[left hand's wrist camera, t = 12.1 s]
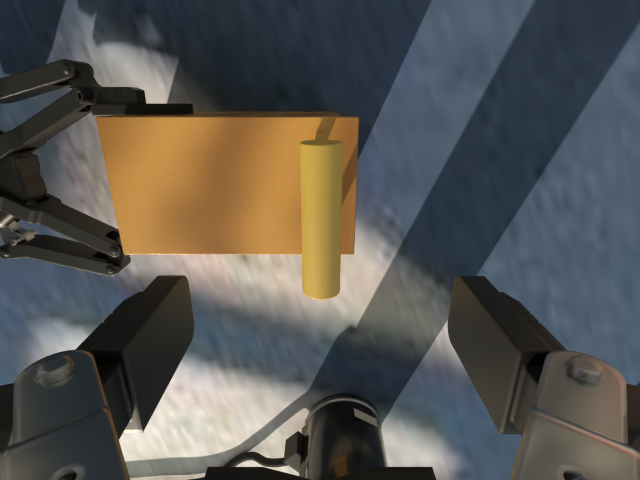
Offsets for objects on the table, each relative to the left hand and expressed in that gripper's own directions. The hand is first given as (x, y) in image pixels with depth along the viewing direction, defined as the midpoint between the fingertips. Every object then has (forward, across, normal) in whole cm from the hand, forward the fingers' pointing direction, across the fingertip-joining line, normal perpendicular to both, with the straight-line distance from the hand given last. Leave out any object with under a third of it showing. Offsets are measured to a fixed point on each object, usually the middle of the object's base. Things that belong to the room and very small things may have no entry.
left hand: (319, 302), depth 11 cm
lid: (+16, +6, 0) cm, 17 cm away
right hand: (+20, +10, 0) cm, 22 cm away
